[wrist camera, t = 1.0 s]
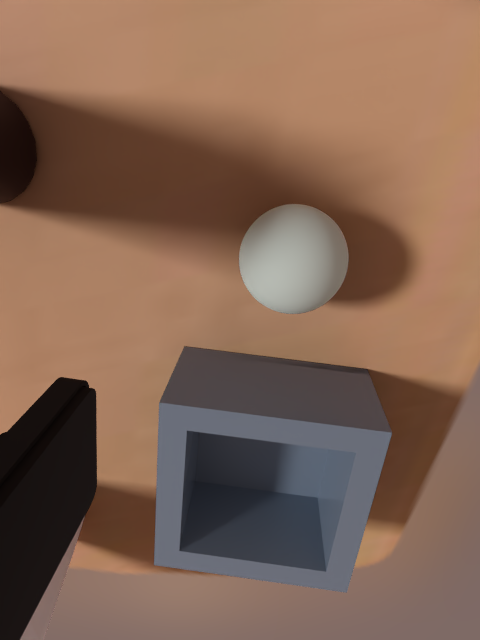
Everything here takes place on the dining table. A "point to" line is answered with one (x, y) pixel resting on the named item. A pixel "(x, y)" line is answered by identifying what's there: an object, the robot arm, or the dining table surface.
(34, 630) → the foam cup
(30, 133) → the bottle
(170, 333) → the dining table surface
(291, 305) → the ball
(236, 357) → the blue-grey open box
